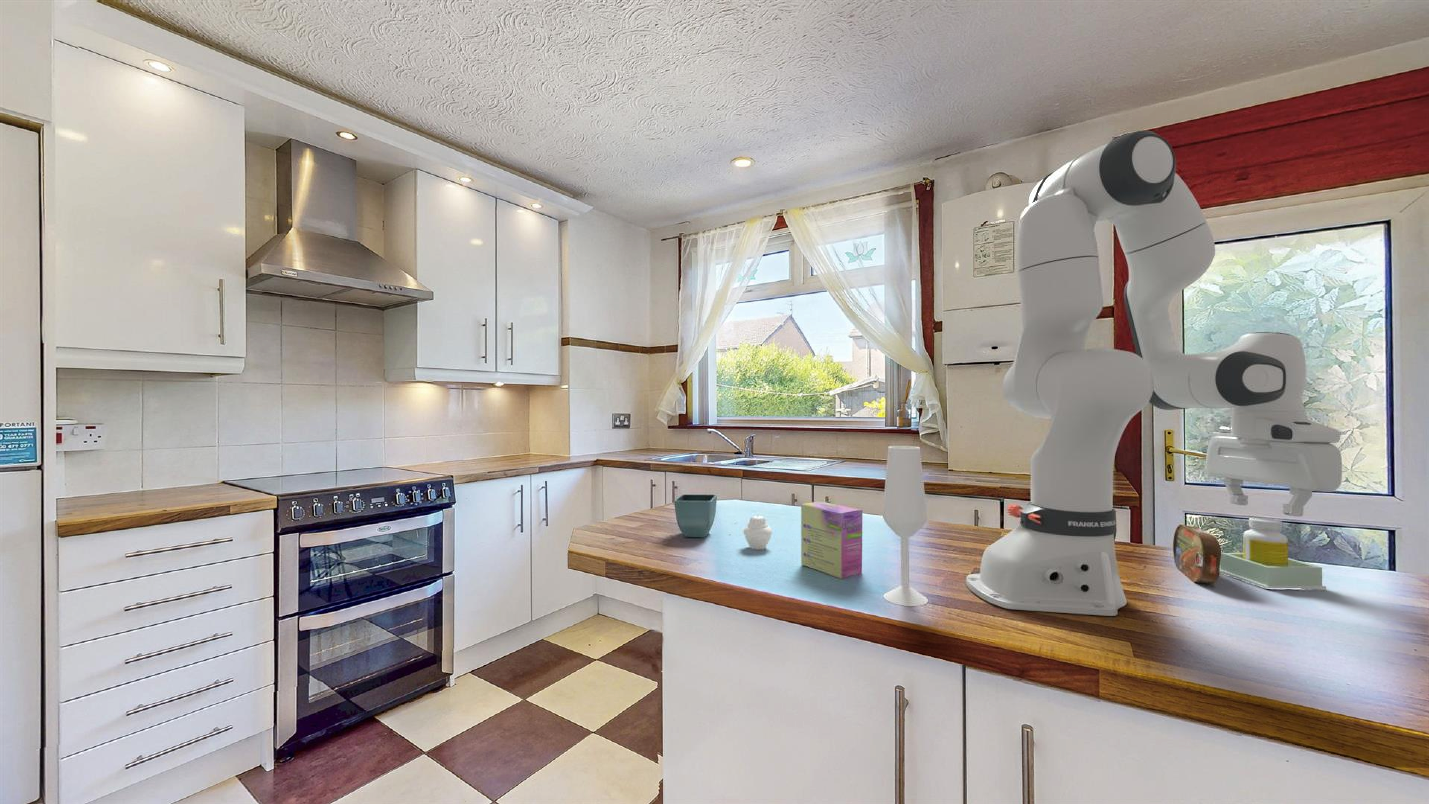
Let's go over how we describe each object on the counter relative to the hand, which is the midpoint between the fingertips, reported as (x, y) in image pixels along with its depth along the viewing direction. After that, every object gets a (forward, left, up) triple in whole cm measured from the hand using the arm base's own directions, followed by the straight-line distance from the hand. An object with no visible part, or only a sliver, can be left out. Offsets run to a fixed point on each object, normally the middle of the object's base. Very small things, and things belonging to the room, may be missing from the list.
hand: (1264, 509), depth 93 cm
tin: (-9, +3, -13) cm, 16 cm away
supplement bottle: (0, 0, -12) cm, 12 cm away
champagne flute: (-63, -8, -12) cm, 65 cm away
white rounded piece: (-85, +22, -12) cm, 89 cm away
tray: (+1, 0, -12) cm, 12 cm away
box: (-72, +7, -12) cm, 74 cm away
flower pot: (-99, +33, -12) cm, 105 cm away
